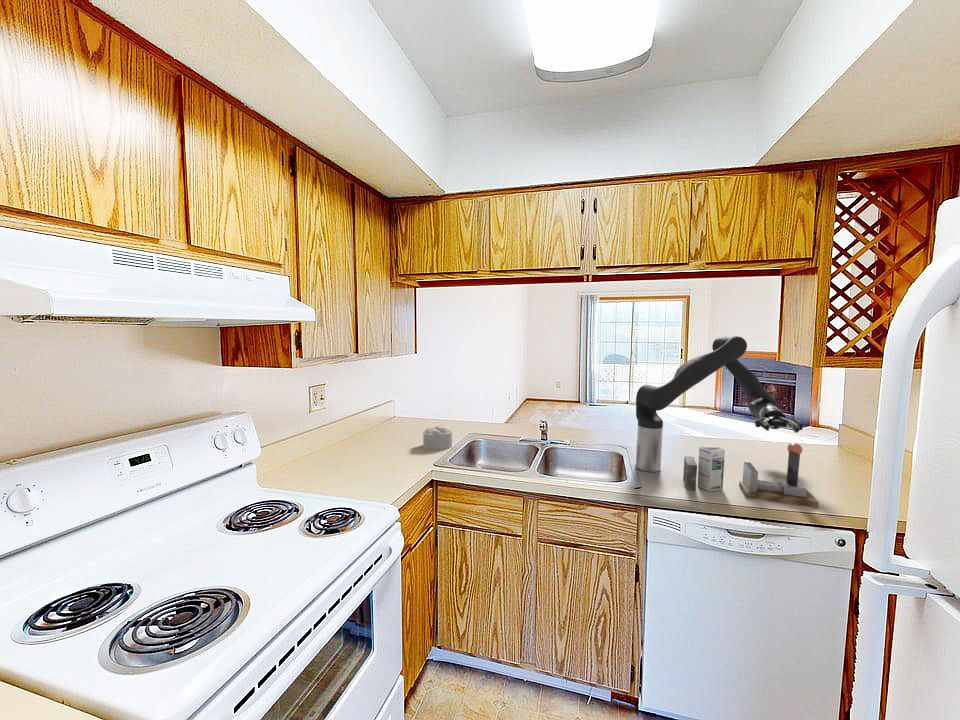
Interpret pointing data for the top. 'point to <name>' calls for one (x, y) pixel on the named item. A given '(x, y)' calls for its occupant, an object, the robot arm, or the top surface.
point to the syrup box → (711, 468)
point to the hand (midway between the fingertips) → (782, 429)
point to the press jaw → (783, 485)
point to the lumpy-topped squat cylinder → (437, 438)
